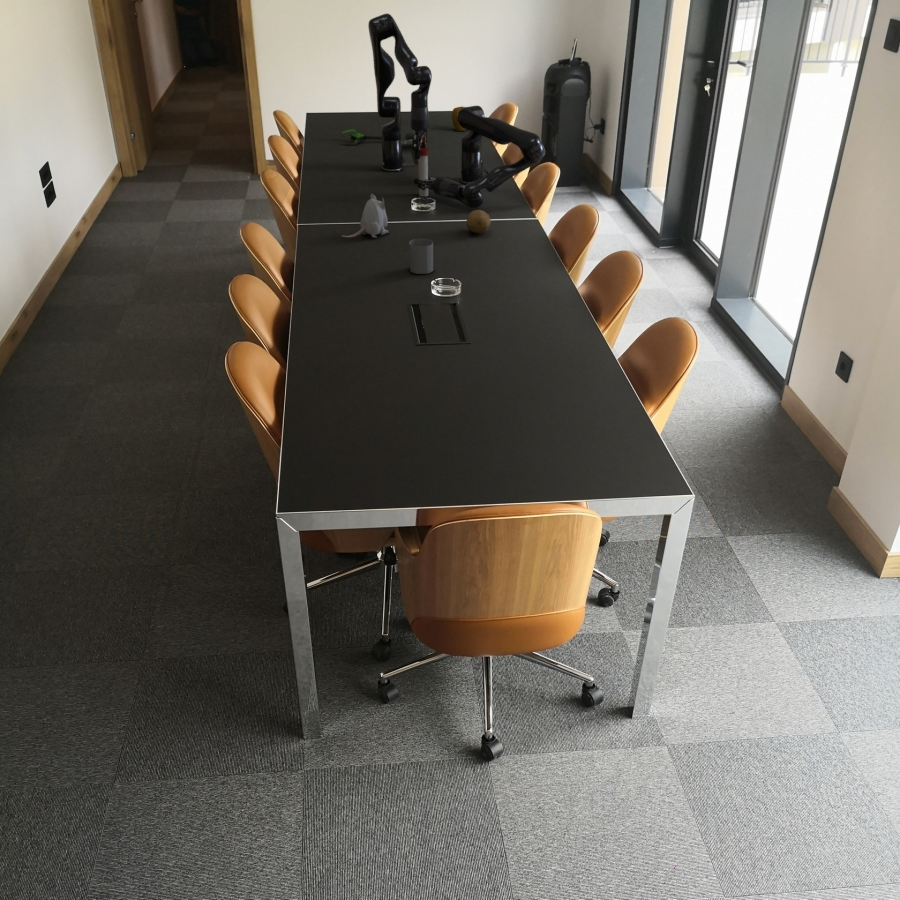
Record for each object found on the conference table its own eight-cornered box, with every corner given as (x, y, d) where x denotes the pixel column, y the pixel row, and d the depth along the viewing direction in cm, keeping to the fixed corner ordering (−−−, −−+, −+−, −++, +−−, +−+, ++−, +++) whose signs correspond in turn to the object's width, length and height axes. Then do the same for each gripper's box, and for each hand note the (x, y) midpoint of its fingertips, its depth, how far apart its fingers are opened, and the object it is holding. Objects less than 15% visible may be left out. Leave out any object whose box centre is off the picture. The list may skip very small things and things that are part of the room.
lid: (415, 155, 374) (415, 150, 373) (419, 152, 378) (418, 147, 377) (426, 156, 373) (426, 151, 372) (430, 153, 377) (430, 148, 376)
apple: (471, 132, 486) (471, 108, 479) (451, 132, 486) (451, 108, 479) (470, 128, 495) (471, 104, 488) (452, 128, 495) (452, 104, 488)
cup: (409, 265, 311) (408, 238, 306) (432, 265, 312) (431, 238, 307) (410, 274, 304) (409, 246, 299) (433, 273, 305) (433, 246, 299)
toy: (394, 233, 341) (393, 195, 333) (349, 248, 327) (347, 208, 319) (379, 228, 347) (377, 190, 338) (334, 242, 332) (331, 203, 324)
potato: (488, 225, 349) (488, 206, 345) (492, 237, 337) (492, 217, 333) (464, 226, 348) (464, 206, 344) (467, 238, 337) (467, 217, 332)
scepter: (396, 126, 467) (340, 124, 465) (396, 141, 460) (339, 139, 458) (396, 135, 472) (341, 133, 470) (396, 151, 465) (340, 148, 463)
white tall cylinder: (430, 194, 386) (429, 150, 376) (425, 197, 383) (424, 152, 373) (421, 193, 388) (420, 149, 377) (417, 195, 385) (416, 151, 374)
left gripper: (416, 113, 374) (416, 152, 383) (406, 120, 362) (406, 160, 371) (432, 114, 372) (433, 153, 381) (423, 121, 360) (423, 161, 369)
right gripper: (433, 199, 371) (407, 191, 382) (457, 193, 380) (430, 185, 390) (433, 182, 367) (406, 174, 377) (457, 175, 376) (430, 168, 386)
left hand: (420, 156), depth 376 cm, fingers open, 7 cm apart
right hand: (419, 179), depth 384 cm, fingers closed on white tall cylinder, 4 cm apart
